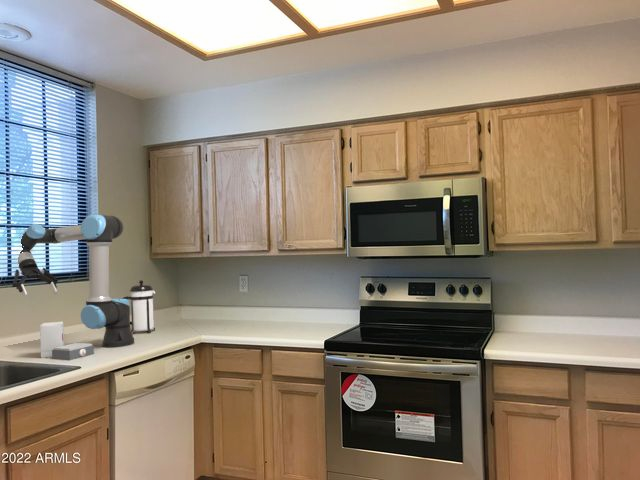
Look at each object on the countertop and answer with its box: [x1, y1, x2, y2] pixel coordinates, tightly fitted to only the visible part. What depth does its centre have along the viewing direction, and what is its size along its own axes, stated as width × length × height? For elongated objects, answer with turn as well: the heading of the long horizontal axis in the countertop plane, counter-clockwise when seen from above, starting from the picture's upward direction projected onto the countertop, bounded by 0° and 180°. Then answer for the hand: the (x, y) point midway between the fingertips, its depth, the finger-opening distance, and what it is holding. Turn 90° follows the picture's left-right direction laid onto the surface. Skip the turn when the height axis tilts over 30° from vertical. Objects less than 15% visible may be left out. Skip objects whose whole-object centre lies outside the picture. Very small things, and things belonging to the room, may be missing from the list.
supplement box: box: [39, 321, 65, 359], centre depth 238 cm, size 9×9×15 cm
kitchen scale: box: [51, 342, 95, 361], centre depth 233 cm, size 13×12×5 cm
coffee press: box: [121, 279, 156, 335], centre depth 295 cm, size 17×16×30 cm
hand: (41, 294), depth 244 cm, fingers open, 13 cm apart
